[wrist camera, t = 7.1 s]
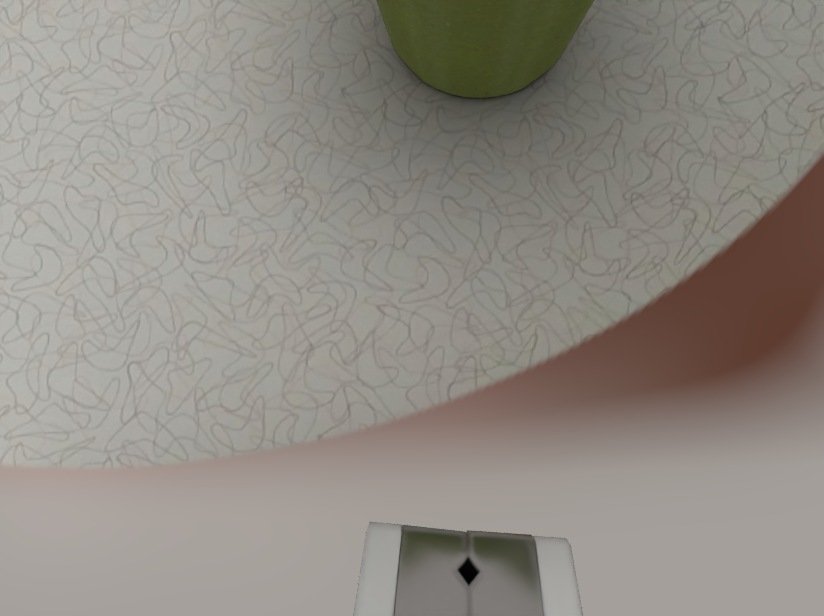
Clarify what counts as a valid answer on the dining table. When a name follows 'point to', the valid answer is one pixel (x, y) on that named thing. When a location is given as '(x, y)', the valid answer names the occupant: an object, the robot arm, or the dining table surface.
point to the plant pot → (481, 40)
